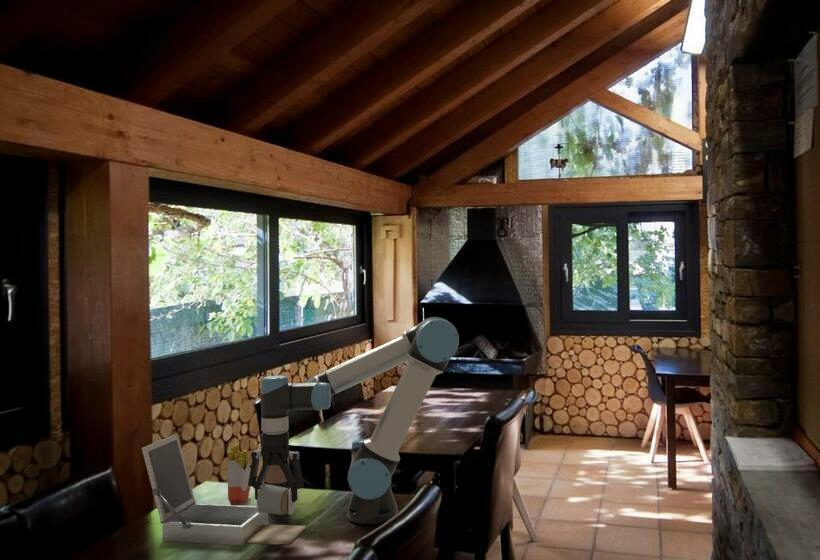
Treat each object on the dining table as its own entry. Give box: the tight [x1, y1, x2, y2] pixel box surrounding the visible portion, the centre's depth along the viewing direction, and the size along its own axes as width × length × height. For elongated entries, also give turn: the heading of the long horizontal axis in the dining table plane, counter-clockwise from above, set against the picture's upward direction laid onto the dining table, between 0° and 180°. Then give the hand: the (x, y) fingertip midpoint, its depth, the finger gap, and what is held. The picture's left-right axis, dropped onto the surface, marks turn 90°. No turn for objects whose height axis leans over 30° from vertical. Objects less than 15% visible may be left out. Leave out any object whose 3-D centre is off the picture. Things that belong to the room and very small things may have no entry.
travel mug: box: [264, 456, 290, 489], centre depth 219 cm, size 8×8×20 cm
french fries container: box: [226, 443, 251, 505], centre depth 226 cm, size 5×11×18 cm, turn 178°
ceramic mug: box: [256, 484, 290, 516], centre depth 196 cm, size 11×8×8 cm
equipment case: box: [141, 433, 269, 546], centre depth 198 cm, size 30×18×26 cm, turn 78°
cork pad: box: [247, 523, 307, 545], centre depth 194 cm, size 12×13×1 cm
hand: (276, 512), depth 194 cm, fingers closed on ceramic mug, 8 cm apart
